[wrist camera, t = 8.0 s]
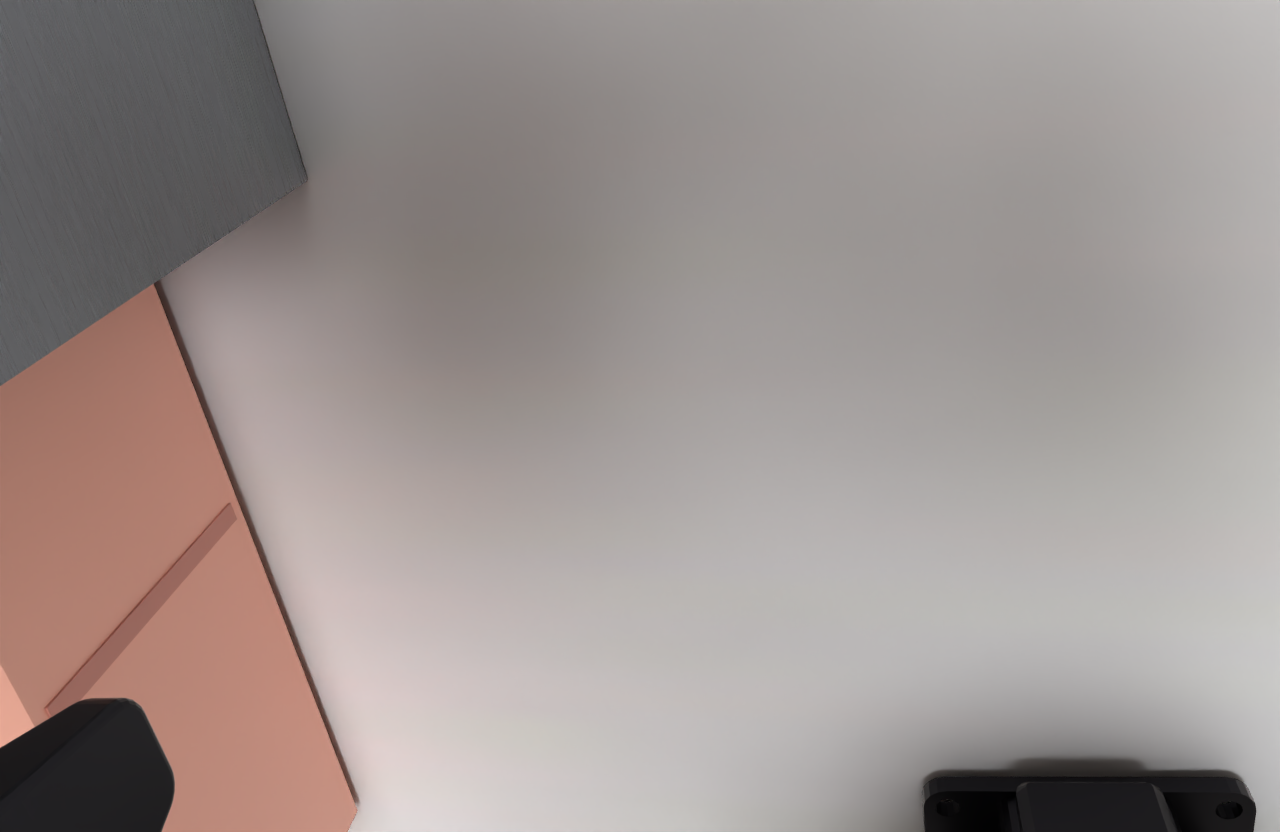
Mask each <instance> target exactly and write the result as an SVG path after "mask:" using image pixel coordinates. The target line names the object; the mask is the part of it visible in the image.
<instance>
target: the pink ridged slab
mask: <svg viewBox="0 0 1280 832" xmlns="http://www.w3.org/2000/svg"><path fill="white" fill-rule="evenodd" d="M90 698H128V699H132V700H134V701H135V702H136V703H138V704H139V705H140V706H141V707H142V708H143V710H144V712H145V713H146V715H147V718H148V720H149V722H150V724H151V726H152V728H153V730H154V732H155V734H156V736H157V738H158V740H159V742H160V744H161V747H162V749H163V751H164V753H165V755H166V757H167V759H168V761H169V763H170V765H171V767H172V770H173V773H174V779H175V793H174V799H173V803H172V806H171V809H170V811H169V814H168V817H167V819H166V822H165V824H164V827H163V830H162V832H348V830H349V828H350V825H351V823H352V821H353V819H354V817H355V815H356V813H357V811H358V810H357V808H356V805H355V803H354V800H353V797H352V795H351V792H350V790H349V787H348V785H347V782H346V779H345V777H344V774H343V772H342V769H341V766H340V764H339V761H338V759H337V756H336V754H335V751H334V748H333V746H332V743H331V741H330V738H329V735H328V733H327V730H326V728H325V725H324V722H323V720H322V717H321V715H320V712H319V710H318V707H317V704H316V702H315V699H314V697H313V694H312V691H311V689H310V686H309V684H308V681H307V679H306V676H305V673H304V671H303V668H302V666H301V663H300V660H299V658H298V655H297V653H296V650H295V648H294V645H293V642H292V640H291V637H290V635H289V632H288V629H287V627H286V624H285V622H284V619H283V617H282V614H281V611H280V609H279V606H278V604H277V601H276V598H275V596H274V593H273V591H272V588H271V586H270V583H269V580H268V578H267V575H266V573H265V570H264V567H263V565H262V562H261V560H260V557H259V555H258V552H257V549H256V547H255V544H254V542H253V539H252V536H251V534H250V531H249V529H248V526H247V524H246V521H245V518H244V516H243V513H242V511H241V508H240V505H239V503H238V500H237V498H236V495H235V493H234V490H233V487H232V485H231V482H230V480H229V477H228V474H227V472H226V469H225V467H224V464H223V462H222V459H221V456H220V454H219V451H218V449H217V446H216V443H215V441H214V438H213V436H212V433H211V431H210V428H209V425H208V423H207V420H206V418H205V415H204V412H203V410H202V407H201V405H200V402H199V399H198V397H197V394H196V392H195V389H194V387H193V384H192V381H191V379H190V376H189V374H188V371H187V368H186V366H185V363H184V361H183V358H182V356H181V353H180V350H179V348H178V345H177V343H176V340H175V337H174V335H173V332H172V330H171V327H170V325H169V322H168V319H167V317H166V314H165V312H164V309H163V306H162V304H161V301H160V299H159V296H158V294H157V291H156V288H155V286H154V284H152V285H151V286H149V287H148V288H146V289H145V290H143V291H142V292H140V293H139V294H137V295H136V296H134V297H133V298H131V299H130V300H128V301H127V302H125V303H124V304H122V305H121V306H119V307H118V308H116V309H115V310H113V311H112V312H110V313H109V314H107V315H106V316H104V317H103V318H101V319H100V320H98V321H97V322H95V323H94V324H92V325H91V326H89V327H88V328H86V329H85V330H83V331H82V332H80V333H79V334H77V335H76V336H74V337H73V338H71V339H70V340H68V341H67V342H65V343H64V344H62V345H61V346H59V347H58V348H56V349H55V350H54V351H52V352H51V353H49V354H48V355H46V356H45V357H43V358H42V359H40V360H39V361H37V362H36V363H34V364H33V365H31V366H30V367H28V368H27V369H25V370H24V371H22V372H21V373H19V374H18V375H16V376H15V377H13V378H12V379H10V380H9V381H7V382H6V383H4V384H3V385H1V386H0V748H1V747H2V746H4V745H6V744H7V743H9V742H11V741H12V740H14V739H16V738H17V737H19V736H21V735H22V734H24V733H25V732H27V731H29V730H30V729H32V728H34V727H35V726H37V725H39V724H40V723H42V722H44V721H45V720H47V719H49V718H50V717H52V716H54V715H55V714H57V713H59V712H60V711H62V710H64V709H65V708H67V707H69V706H70V705H72V704H74V703H76V702H78V701H81V700H84V699H90Z"/></svg>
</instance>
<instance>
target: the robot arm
mask: <svg viewBox="0 0 1280 832" xmlns="http://www.w3.org/2000/svg"><path fill="white" fill-rule="evenodd" d="M174 793H175V779H174V773H173V770H172V767H171V765H170V763H169V761H168V759H167V757H166V755H165V753H164V751H163V749H162V747H161V744H160V742H159V740H158V738H157V736H156V734H155V732H154V730H153V728H152V726H151V724H150V722H149V720H148V718H147V715H146V713H145V712H144V710H143V708H142V707H141V706H140V705H139V704H138V703H136V702H135V701H134V700H132V699H128V698H90V699H84V700H81V701H78V702H76V703H74V704H72V705H70V706H69V707H67V708H65V709H64V710H62V711H60V712H59V713H57V714H55V715H54V716H52V717H50V718H49V719H47V720H45V721H44V722H42V723H40V724H39V725H37V726H35V727H34V728H32V729H30V730H29V731H27V732H25V733H24V734H22V735H21V736H19V737H17V738H16V739H14V740H12V741H11V742H9V743H7V744H6V745H4V746H2V747H1V748H0V832H162V830H163V827H164V824H165V822H166V819H167V817H168V814H169V811H170V809H171V806H172V803H173V799H174ZM922 798H923V815H924V832H1253V831H1254V823H1255V816H1256V806H1255V802H1254V800H1253V798H1252V796H1251V793H1250V791H1249V789H1248V787H1247V786H1246V785H1245V784H1244V783H1243V782H1241V781H1239V780H1237V779H1234V778H1227V777H940V778H935V779H933V780H931V781H929V782H928V783H927V784H926V785H925V786H924V788H923V792H922ZM946 799H948V800H953V801H950V802H943V801H941V800H946ZM1228 801H1231V802H1230V803H1226V804H1221V803H1223V802H1228Z"/></svg>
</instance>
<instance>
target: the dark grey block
mask: <svg viewBox="0 0 1280 832" xmlns="http://www.w3.org/2000/svg"><path fill="white" fill-rule="evenodd" d="M306 181H307V177H306V174H305V171H304V167H303V164H302V161H301V157H300V154H299V151H298V148H297V144H296V141H295V138H294V134H293V131H292V128H291V125H290V121H289V118H288V115H287V112H286V108H285V105H284V102H283V98H282V95H281V92H280V89H279V85H278V82H277V79H276V75H275V72H274V69H273V66H272V62H271V59H270V56H269V52H268V49H267V46H266V43H265V39H264V36H263V33H262V29H261V26H260V23H259V20H258V16H257V13H256V10H255V7H254V3H253V0H0V386H1V385H3V384H4V383H6V382H7V381H9V380H10V379H12V378H13V377H15V376H16V375H18V374H19V373H21V372H22V371H24V370H25V369H27V368H28V367H30V366H31V365H33V364H34V363H36V362H37V361H39V360H40V359H42V358H43V357H45V356H46V355H48V354H49V353H51V352H52V351H54V350H55V349H56V348H58V347H59V346H61V345H62V344H64V343H65V342H67V341H68V340H70V339H71V338H73V337H74V336H76V335H77V334H79V333H80V332H82V331H83V330H85V329H86V328H88V327H89V326H91V325H92V324H94V323H95V322H97V321H98V320H100V319H101V318H103V317H104V316H106V315H107V314H109V313H110V312H112V311H113V310H115V309H116V308H118V307H119V306H121V305H122V304H124V303H125V302H127V301H128V300H130V299H131V298H133V297H134V296H136V295H137V294H139V293H140V292H142V291H143V290H145V289H146V288H148V287H149V286H151V285H152V284H154V283H155V282H156V281H158V280H159V279H161V278H162V277H164V276H165V275H167V274H168V273H170V272H171V271H173V270H174V269H176V268H177V267H179V266H180V265H182V264H183V263H185V262H186V261H188V260H189V259H191V258H192V257H194V256H195V255H197V254H198V253H200V252H201V251H203V250H204V249H206V248H207V247H209V246H210V245H212V244H213V243H215V242H216V241H218V240H219V239H221V238H222V237H224V236H225V235H227V234H228V233H230V232H231V231H233V230H234V229H236V228H237V227H239V226H240V225H242V224H243V223H245V222H246V221H248V220H249V219H251V218H252V217H254V216H255V215H256V214H258V213H259V212H261V211H262V210H264V209H265V208H267V207H268V206H270V205H271V204H273V203H274V202H276V201H277V200H279V199H280V198H282V197H283V196H285V195H286V194H288V193H289V192H291V191H292V190H294V189H295V188H297V187H298V186H300V185H301V184H303V183H304V182H306Z"/></svg>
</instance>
